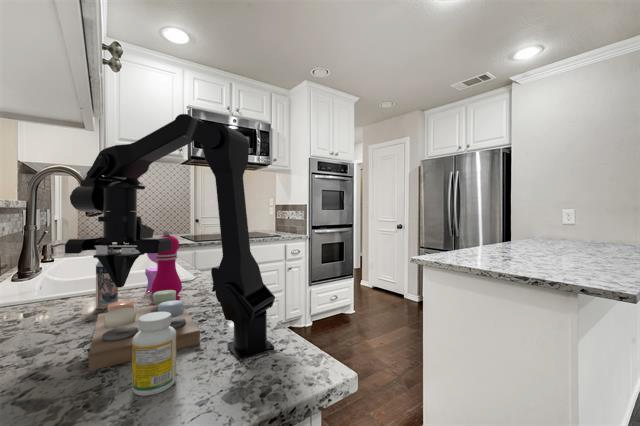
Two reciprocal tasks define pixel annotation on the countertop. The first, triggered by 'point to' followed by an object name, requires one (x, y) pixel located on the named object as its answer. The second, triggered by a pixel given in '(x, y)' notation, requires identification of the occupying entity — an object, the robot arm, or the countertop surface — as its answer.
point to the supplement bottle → (154, 354)
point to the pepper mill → (167, 269)
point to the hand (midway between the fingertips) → (120, 287)
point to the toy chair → (151, 270)
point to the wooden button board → (118, 341)
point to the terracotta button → (120, 305)
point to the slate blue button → (172, 307)
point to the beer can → (104, 288)
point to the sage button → (164, 296)
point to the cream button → (120, 317)
